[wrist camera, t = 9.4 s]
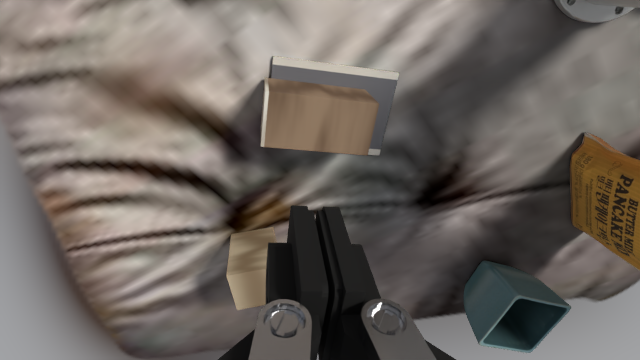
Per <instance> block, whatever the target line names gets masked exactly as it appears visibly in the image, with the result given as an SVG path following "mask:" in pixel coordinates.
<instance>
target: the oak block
mask: <svg viewBox="0 0 640 360" xmlns="http://www.w3.org/2000/svg"><path fill="white" fill-rule="evenodd" d="M268 242H270V243H277V242H276V237H275V233H274V228H273V227H271V228H265V229H259V230H253V231H248V232H242V233H236V234H231V240H230V249H229V257H228V266H227V275H226V276H227V280H228V283H229V286H230V289H231V292H232V295H233V298H234V302H235V305H236V308H237V310H241V309H246V308H251V307H256V306H262V305H266V263H267V250H268Z"/></svg>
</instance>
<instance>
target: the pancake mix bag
mask: <svg viewBox="0 0 640 360" xmlns="http://www.w3.org/2000/svg"><path fill="white" fill-rule="evenodd" d="M570 195H571V221H572V225H573V226H575V227H576V228H578V229H580V230H582V231H583V232H585V233H586V234H588V235H589V236H591V237H593V238H594V239H596V240H597V241H599V242H600V243H601V244H603V245H604V246H605V247H606V248H607V249H609V250H610V251H611V252H613V253H614V254H616V255H617V256H619V257H620V258H622V259H623V260H624V261H626V262H627V263H628V264H630V265H631V266H633V267H634V268H636V269H637V270H639V271H640V160H637V159H634V158H631V157H629V156H627V155H625V154H623V153H621V152H619V151H617V150H616V149H614V148H613V147H611V146H610V145H609V144H607V143H606V142H605V141H603V140H602V139H601V138H599V137H597V136H594V135H592V134H589V133H586V132H585V133H584V138H583V142H582V144H581V145H580V146H579V147H578V148H577V149H576V150H575V151H574V152H573V153H572V156H571V161H570Z"/></svg>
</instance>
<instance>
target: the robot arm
mask: <svg viewBox="0 0 640 360" xmlns="http://www.w3.org/2000/svg"><path fill="white" fill-rule="evenodd" d="M554 1H555V3H556V5H557V6H558V8H559V9H560V10H561V11H562V12H563V13H564V14H565V15H567V16H568V17H570V18H571V19H575V20H578V21H581V22H590V23H599V22H606V21H610V20H613V19H616V18H618V17H621V16H623V15H625V14H627V13H628V12H630V11H631V10H633V9H634V8H640V0H554ZM317 354H318V355H319V360H456V359H454V358H452V357H451V356H449V355H448V354H446V353H445V352H443V351H441V350H440V349H438V348H437V347H435V346H433V345H432V344H431V343H429V342H427V341H426V340H424V338H423V336H422V335H421V333H420V331H419V330H418V329H417V327H416V325H415V324H414V322H413V320H412V318H411V317H410V315H409V314H408V312H407V311H406V310H405V309H404V308H403V307H401V306H400V305H399V304H397V303H395V302H393V301H391V300H386V299H381V297H380V295H379V292H378V289H377V286H376V284H375V281H374V278H373V275H372V272H371V270H370V267H369V264H368V261H367V259H366V256H365V253H364V250H363V248H362V246H361V245H358V244H351V243H350V240H349V236H348V233H347V230H346V227H345V224H344V221H343V218H342V215H341V211H340V209H339V208H338V207H323V209H322V211H317V213H316V219H315V217H314V212H313V211H312V210H308V207H307V206H291V210H290V219H289V228H288V238H287V243H270V242H268V250H267V263H266V305H265V306H264V307H263V308H262V309H261V310H260V313H259V315H258V318H257V323H256V327H255V330H253V331H252V332H251V333H250V334H249V335H247V336H246V337H245V338H244V339H242V340H241V341H240V342H239V343H238V344H236V345H235V346H234V347H233V348H231V349H230V350H229V351H228V352H227V353H225V354H224V355H223V356H222V357H220V358H219V359H218V360H316V359H317Z"/></svg>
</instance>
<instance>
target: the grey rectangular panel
mask: <svg viewBox="0 0 640 360" xmlns="http://www.w3.org/2000/svg"><path fill="white" fill-rule="evenodd" d="M398 77H399V73H398V72H391V71H384V70H376V69H369V68H361V67H353V66H346V65H338V64H330V63H323V62H315V61H307V60H300V59H292V58H285V57H277V56H273V63H272V74H271V78H273V79H282V80H290V81H298V82H307V83H315V84H323V85H332V86H340V87H349V88H357V89H365V90H366V91H367V92H368V93H369V94H370V95H371V96H372V97H373V98H374V99H375V100H376V101H377V102H378V103H379V108H378V112H377V117H376V121H375V125H374V130H373V134H372V139H371V143H370V147H369V152H368V155H379V154H380V150H381V146H382V142H383V138H384V134H385V129H386V125H387V121H388V117H389V113H390V109H391V105H392V101H393V97H394V93H395V89H396V85H397V80H398Z"/></svg>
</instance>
